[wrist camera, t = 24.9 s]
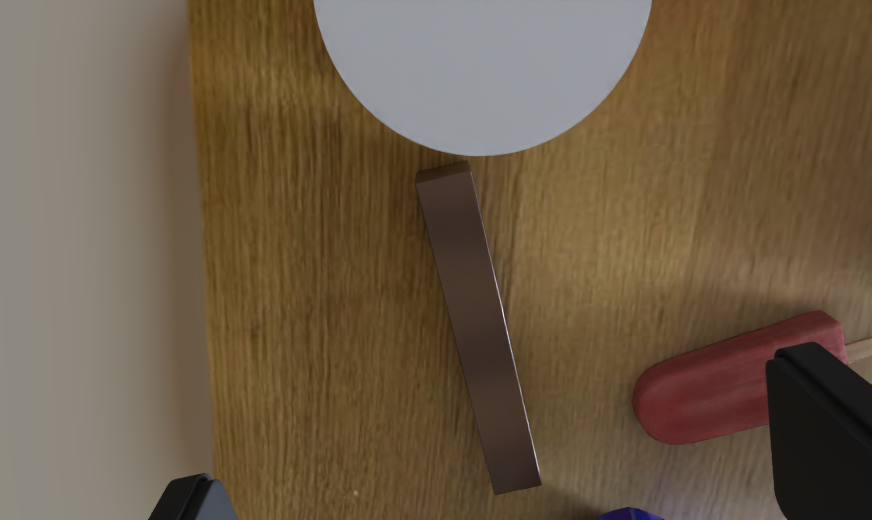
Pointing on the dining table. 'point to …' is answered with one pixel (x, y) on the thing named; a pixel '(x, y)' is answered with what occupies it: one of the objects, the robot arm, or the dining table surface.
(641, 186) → the dining table surface
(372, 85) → the cup
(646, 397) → the popsicle
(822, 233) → the dining table surface
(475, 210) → the stick
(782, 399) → the robot arm
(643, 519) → the ornament
